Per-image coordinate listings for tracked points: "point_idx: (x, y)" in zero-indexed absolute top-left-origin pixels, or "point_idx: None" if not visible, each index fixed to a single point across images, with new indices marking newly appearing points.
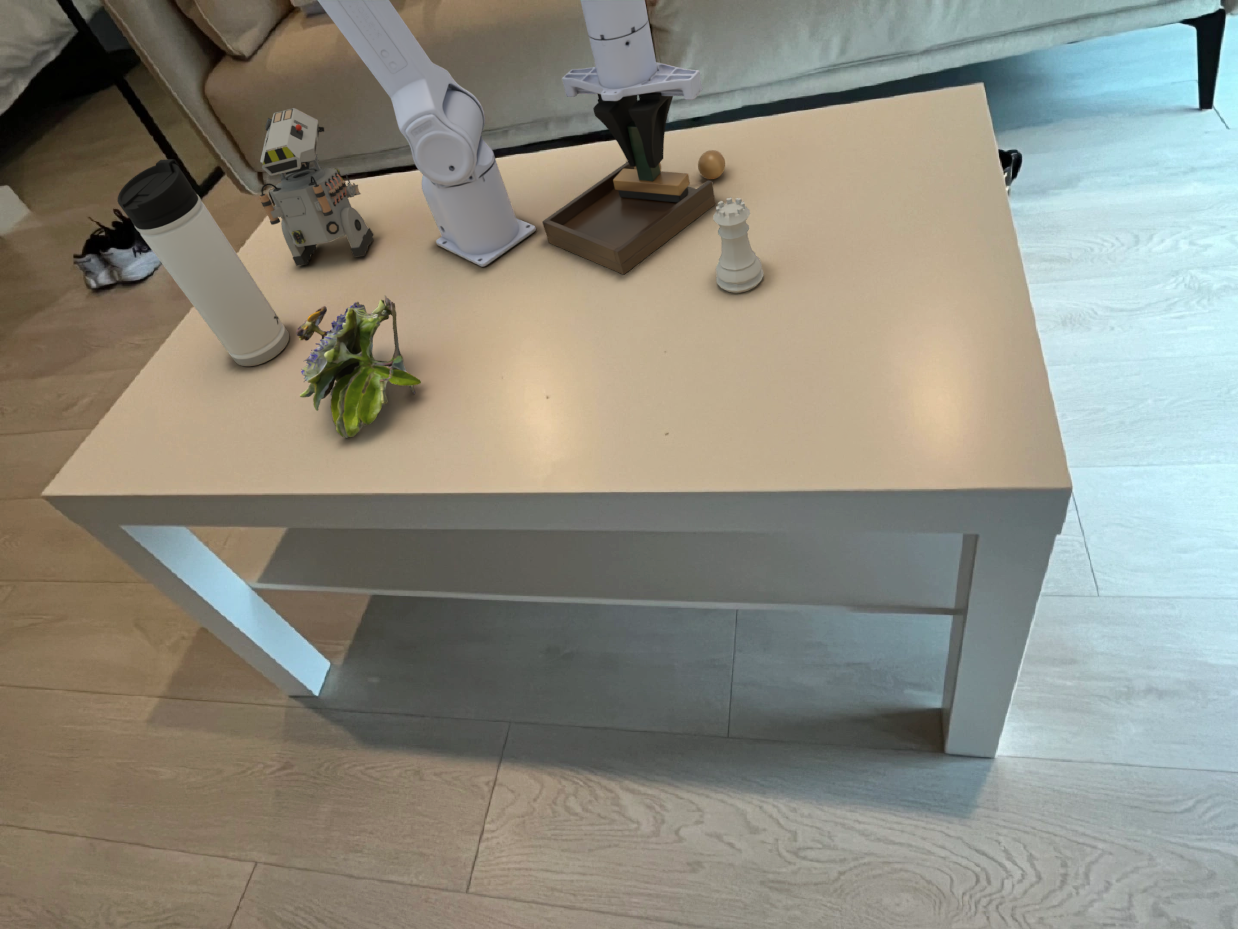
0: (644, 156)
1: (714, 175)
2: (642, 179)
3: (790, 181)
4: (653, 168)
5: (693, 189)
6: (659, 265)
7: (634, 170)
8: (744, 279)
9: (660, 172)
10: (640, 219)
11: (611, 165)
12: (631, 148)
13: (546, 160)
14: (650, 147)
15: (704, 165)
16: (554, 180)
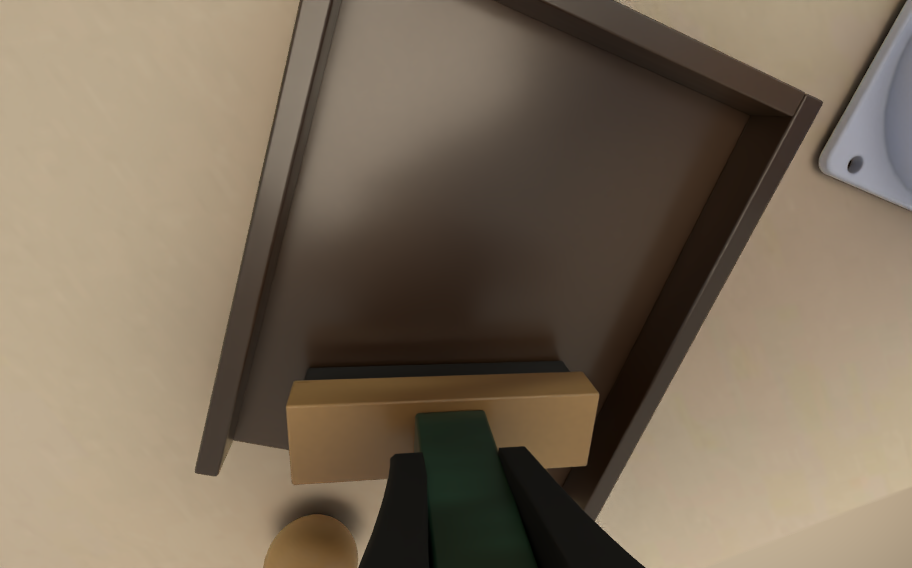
0: (445, 494)
1: (287, 526)
2: (466, 412)
3: (42, 556)
4: None
5: None
6: (218, 15)
7: None
8: None
9: None
10: (418, 248)
11: (667, 515)
12: (524, 521)
13: (867, 499)
14: (374, 534)
15: (310, 551)
16: (820, 425)
